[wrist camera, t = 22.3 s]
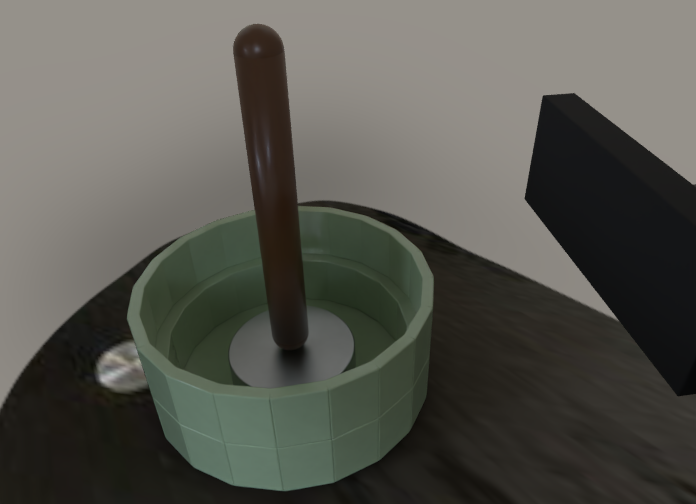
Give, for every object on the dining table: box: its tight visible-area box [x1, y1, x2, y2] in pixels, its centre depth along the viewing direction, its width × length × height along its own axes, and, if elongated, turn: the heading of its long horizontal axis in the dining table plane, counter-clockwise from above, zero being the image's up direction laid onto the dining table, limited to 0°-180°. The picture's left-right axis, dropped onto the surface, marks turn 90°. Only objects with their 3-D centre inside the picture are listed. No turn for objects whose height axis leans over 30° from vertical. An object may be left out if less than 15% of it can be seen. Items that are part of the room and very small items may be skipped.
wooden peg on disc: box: [228, 24, 356, 388], centre depth 28 cm, size 7×7×19 cm
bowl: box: [127, 206, 434, 491], centre depth 32 cm, size 15×15×7 cm
